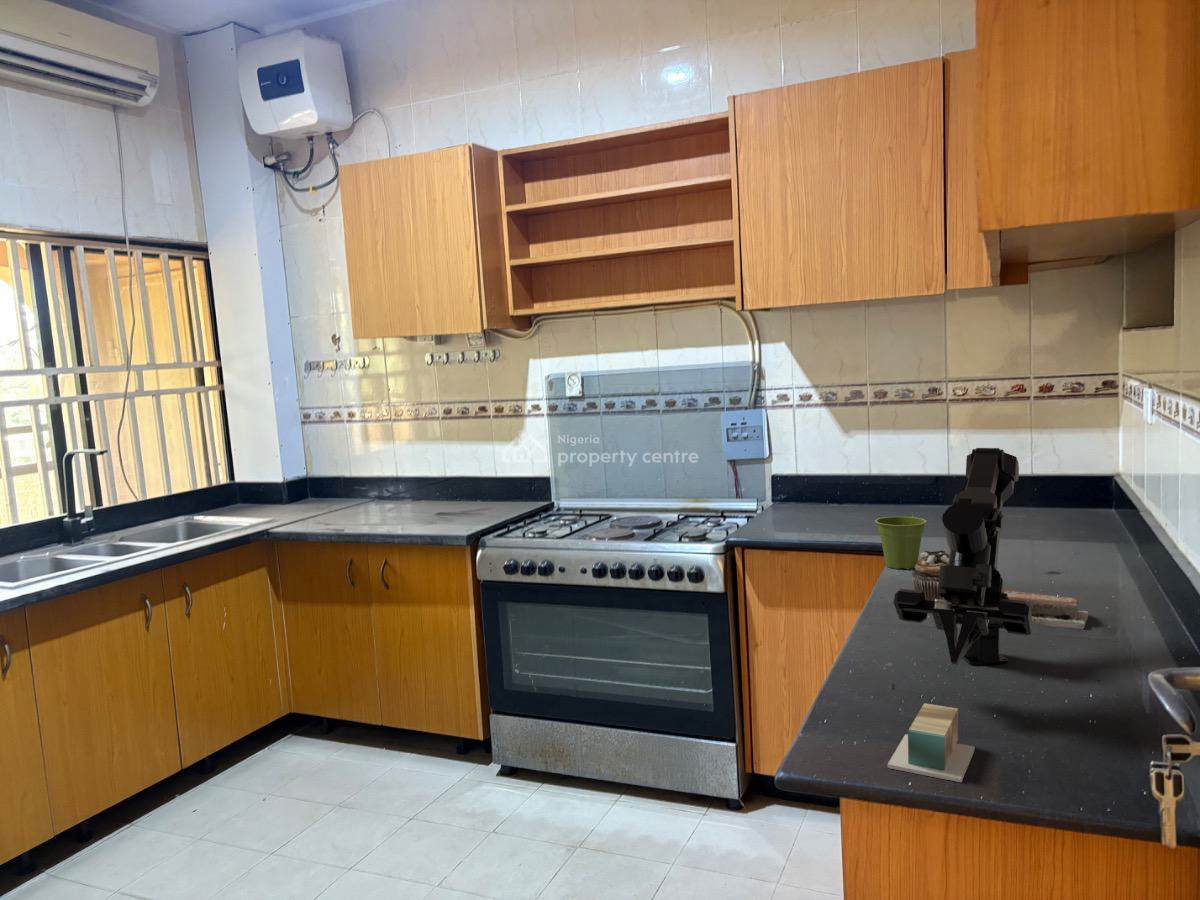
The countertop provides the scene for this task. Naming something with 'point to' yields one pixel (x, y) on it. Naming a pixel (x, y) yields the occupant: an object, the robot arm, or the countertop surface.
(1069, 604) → the stepped brick
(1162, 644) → the countertop surface
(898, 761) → the mat
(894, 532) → the plant pot
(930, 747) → the block
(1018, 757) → the countertop surface
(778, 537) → the countertop surface
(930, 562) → the cupcake
